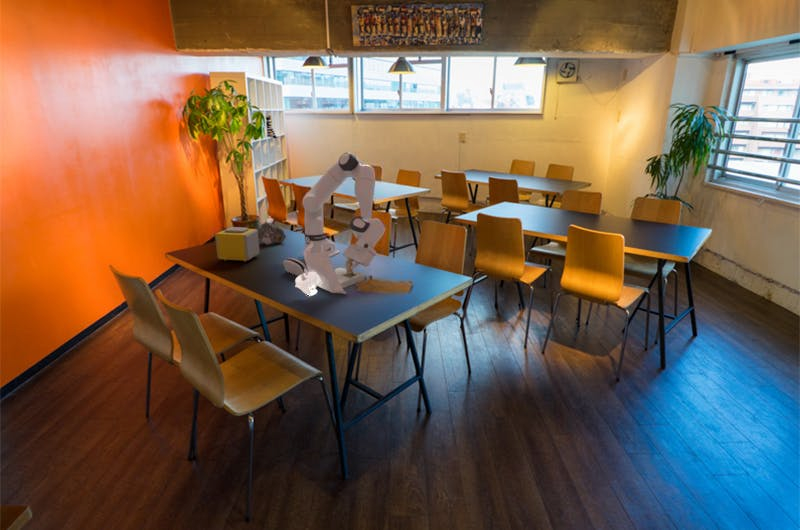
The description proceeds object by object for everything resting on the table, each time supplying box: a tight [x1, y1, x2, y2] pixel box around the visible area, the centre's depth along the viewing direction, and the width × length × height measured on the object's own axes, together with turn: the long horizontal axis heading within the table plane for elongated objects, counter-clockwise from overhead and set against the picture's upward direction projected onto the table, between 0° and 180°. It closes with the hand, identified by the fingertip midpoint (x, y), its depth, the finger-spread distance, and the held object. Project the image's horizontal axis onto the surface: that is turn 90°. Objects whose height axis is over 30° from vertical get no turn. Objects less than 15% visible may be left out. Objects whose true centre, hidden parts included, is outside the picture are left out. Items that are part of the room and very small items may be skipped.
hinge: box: [282, 257, 308, 277], centre depth 242 cm, size 17×5×10 cm, turn 48°
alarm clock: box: [214, 226, 261, 263], centre depth 267 cm, size 20×16×18 cm
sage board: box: [334, 267, 366, 289], centre depth 234 cm, size 18×18×3 cm
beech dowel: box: [345, 259, 354, 277], centre depth 232 cm, size 3×3×11 cm
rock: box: [256, 221, 287, 246], centre depth 304 cm, size 18×14×15 cm
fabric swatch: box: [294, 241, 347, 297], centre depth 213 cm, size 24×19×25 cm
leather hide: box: [353, 274, 414, 295], centre depth 223 cm, size 29×26×5 cm
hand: (348, 268), depth 232 cm, fingers closed on beech dowel, 3 cm apart
